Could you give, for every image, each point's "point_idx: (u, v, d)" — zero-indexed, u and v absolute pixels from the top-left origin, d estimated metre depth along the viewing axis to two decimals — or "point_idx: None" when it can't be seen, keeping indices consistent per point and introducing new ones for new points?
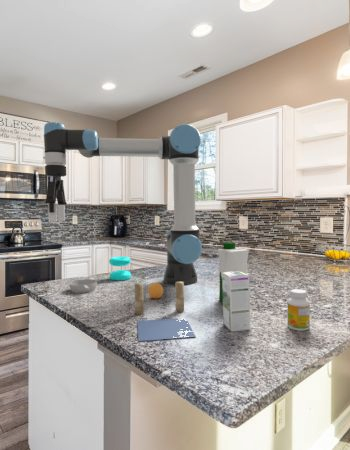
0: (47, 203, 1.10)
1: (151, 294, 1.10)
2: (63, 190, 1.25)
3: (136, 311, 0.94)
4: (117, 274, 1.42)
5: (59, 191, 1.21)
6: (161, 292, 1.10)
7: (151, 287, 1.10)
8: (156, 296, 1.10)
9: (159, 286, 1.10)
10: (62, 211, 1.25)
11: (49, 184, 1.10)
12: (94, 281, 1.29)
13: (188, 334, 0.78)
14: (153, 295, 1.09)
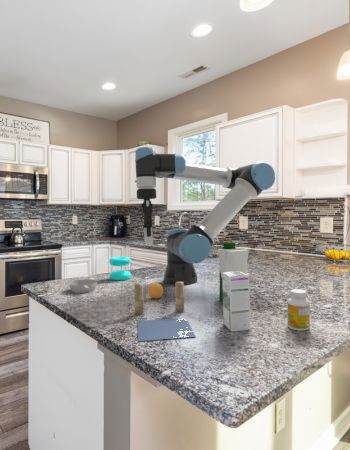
0: (144, 227, 1.12)
1: (151, 294, 1.10)
2: None
3: (136, 311, 0.94)
4: (117, 274, 1.42)
5: None
6: (161, 292, 1.10)
7: (151, 287, 1.10)
8: (156, 296, 1.10)
9: (159, 286, 1.10)
10: None
11: (146, 209, 1.13)
12: (94, 281, 1.29)
13: (188, 334, 0.78)
14: (153, 295, 1.09)
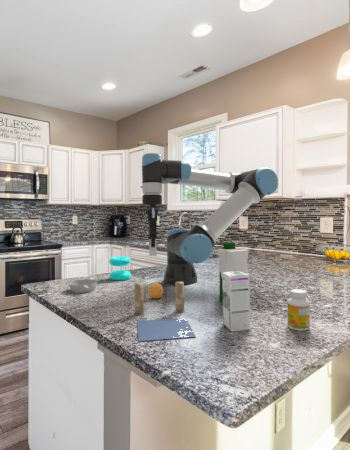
0: (149, 238, 1.19)
1: (151, 294, 1.10)
2: None
3: (136, 311, 0.94)
4: (117, 274, 1.42)
5: None
6: (161, 292, 1.10)
7: (151, 287, 1.10)
8: (156, 296, 1.10)
9: (159, 286, 1.10)
10: None
11: (151, 221, 1.15)
12: (94, 281, 1.29)
13: (188, 334, 0.78)
14: (153, 295, 1.09)
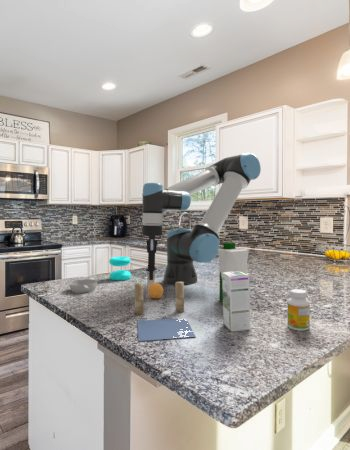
0: (147, 270, 1.15)
1: (151, 294, 1.10)
2: None
3: (136, 311, 0.94)
4: (117, 274, 1.42)
5: None
6: (161, 292, 1.10)
7: (151, 287, 1.10)
8: (156, 296, 1.10)
9: (159, 286, 1.10)
10: None
11: (150, 253, 1.11)
12: (94, 281, 1.29)
13: (188, 334, 0.78)
14: (153, 295, 1.09)
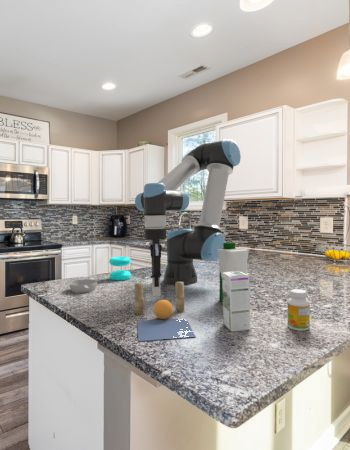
0: (152, 277, 1.07)
1: None
2: None
3: (136, 311, 0.94)
4: (117, 274, 1.42)
5: None
6: None
7: (158, 316, 0.88)
8: None
9: (168, 316, 0.88)
10: None
11: (155, 259, 1.03)
12: (94, 281, 1.29)
13: (188, 334, 0.78)
14: None
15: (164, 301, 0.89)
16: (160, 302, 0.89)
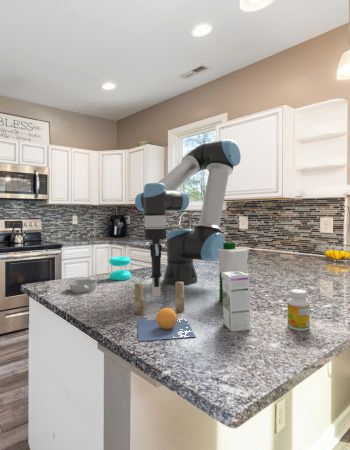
0: (152, 277, 1.07)
1: (160, 311, 0.82)
2: None
3: (136, 311, 0.94)
4: (117, 274, 1.42)
5: None
6: (173, 310, 0.83)
7: None
8: (167, 310, 0.81)
9: None
10: None
11: (155, 259, 1.03)
12: (94, 281, 1.29)
13: (188, 334, 0.78)
14: (162, 310, 0.81)
15: None
16: None
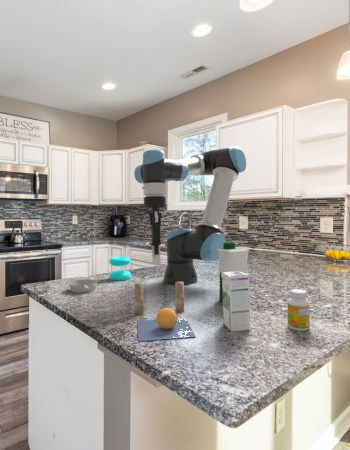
0: None
1: (160, 311, 0.82)
2: None
3: (136, 311, 0.94)
4: (117, 274, 1.42)
5: None
6: (173, 310, 0.83)
7: None
8: (167, 310, 0.81)
9: None
10: None
11: (154, 226, 1.03)
12: (94, 281, 1.29)
13: (188, 334, 0.78)
14: (162, 310, 0.81)
15: None
16: None
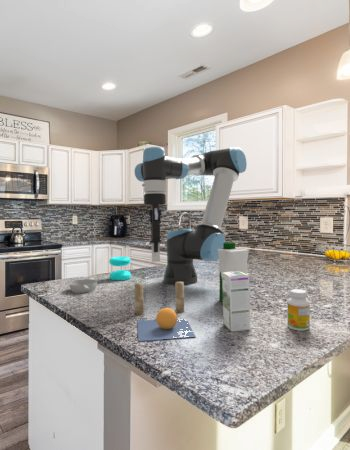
0: (151, 242, 1.07)
1: (160, 311, 0.82)
2: None
3: (136, 311, 0.94)
4: (117, 274, 1.42)
5: None
6: (173, 310, 0.83)
7: None
8: (167, 310, 0.81)
9: None
10: None
11: (154, 223, 1.03)
12: (94, 281, 1.29)
13: (188, 334, 0.78)
14: (162, 310, 0.81)
15: None
16: None
